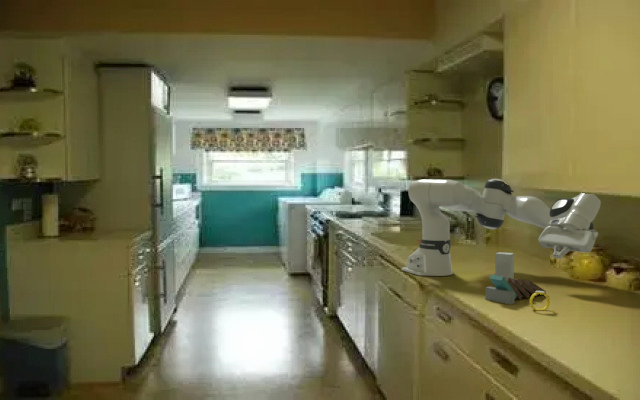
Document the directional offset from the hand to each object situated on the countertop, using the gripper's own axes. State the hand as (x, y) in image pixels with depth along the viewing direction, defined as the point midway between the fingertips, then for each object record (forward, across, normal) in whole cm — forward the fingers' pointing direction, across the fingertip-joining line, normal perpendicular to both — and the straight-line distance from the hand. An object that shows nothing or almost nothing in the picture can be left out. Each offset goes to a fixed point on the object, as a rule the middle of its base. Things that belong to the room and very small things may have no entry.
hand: (556, 257), depth 223 cm
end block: (+30, 0, +13) cm, 32 cm away
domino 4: (+18, 0, +1) cm, 18 cm away
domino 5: (+15, 0, -2) cm, 15 cm away
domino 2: (+24, 0, +7) cm, 25 cm away
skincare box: (+13, +18, -5) cm, 23 cm away
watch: (+30, -15, +12) cm, 35 cm away
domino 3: (+21, 0, +4) cm, 21 cm away
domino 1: (+25, 0, +10) cm, 27 cm away
